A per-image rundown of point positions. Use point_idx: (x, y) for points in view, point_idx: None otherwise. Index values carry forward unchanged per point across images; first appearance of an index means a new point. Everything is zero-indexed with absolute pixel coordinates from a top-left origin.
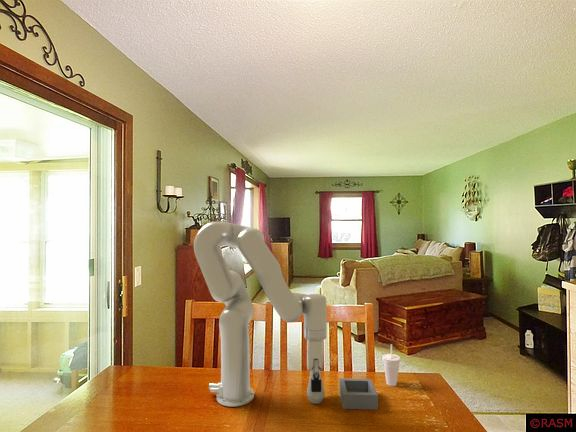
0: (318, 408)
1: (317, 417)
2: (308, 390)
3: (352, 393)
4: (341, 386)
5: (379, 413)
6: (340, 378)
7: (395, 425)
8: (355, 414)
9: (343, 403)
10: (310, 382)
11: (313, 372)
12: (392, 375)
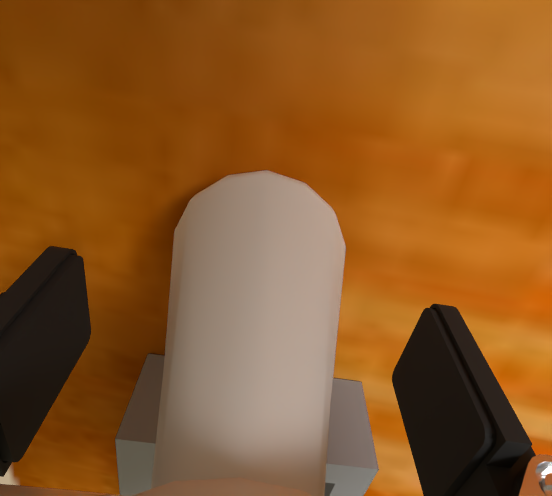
0: (145, 218)
1: (12, 186)
2: (226, 207)
3: (137, 480)
4: None
5: (116, 465)
6: (375, 473)
7: (28, 481)
8: (93, 389)
9: (136, 383)
10: (205, 286)
11: (162, 454)
12: None
